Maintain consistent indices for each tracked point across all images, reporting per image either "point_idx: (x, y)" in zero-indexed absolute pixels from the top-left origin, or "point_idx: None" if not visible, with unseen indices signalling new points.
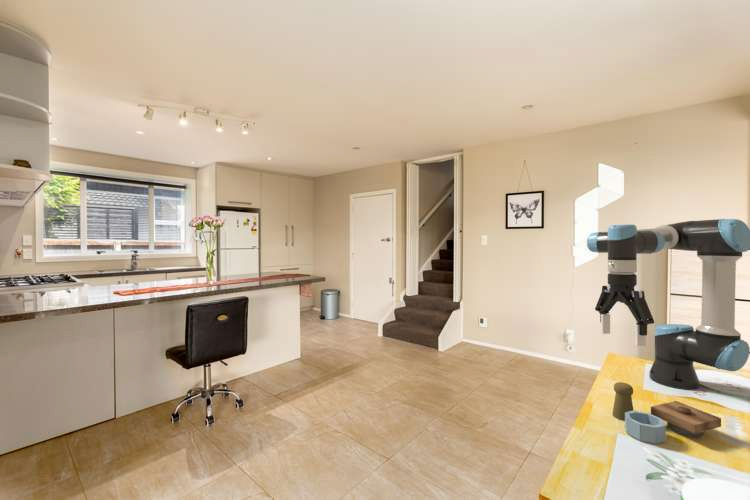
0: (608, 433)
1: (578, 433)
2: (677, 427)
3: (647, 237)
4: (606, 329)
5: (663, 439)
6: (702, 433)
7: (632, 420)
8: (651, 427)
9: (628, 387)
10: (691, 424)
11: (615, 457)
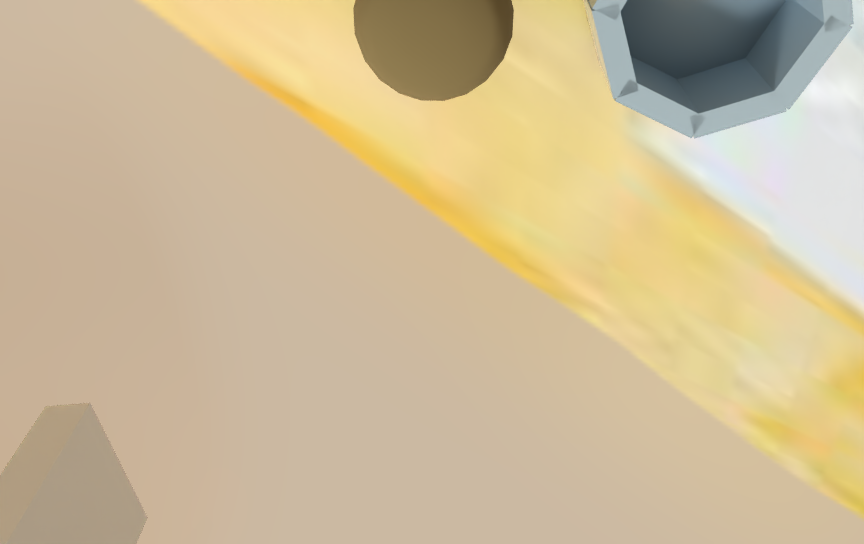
0: (637, 190)
1: (616, 333)
2: None
3: None
4: (82, 532)
5: None
6: None
7: (727, 123)
8: (831, 51)
9: (497, 25)
10: None
11: (843, 285)
